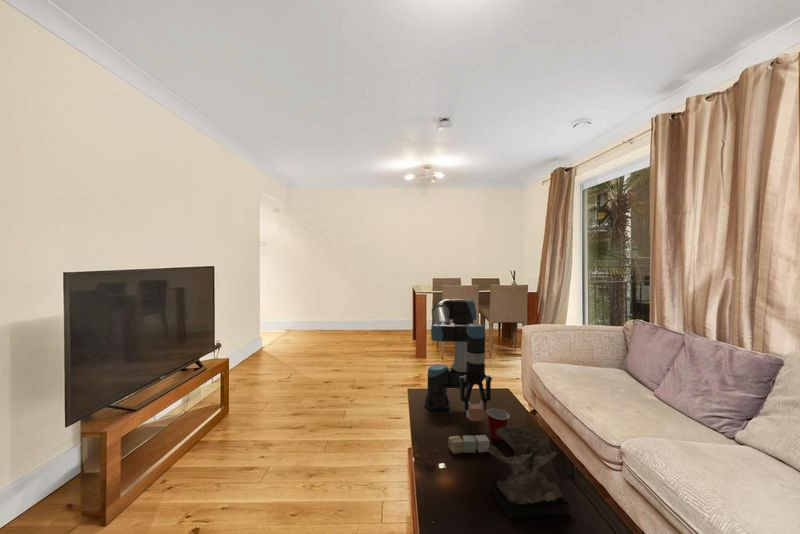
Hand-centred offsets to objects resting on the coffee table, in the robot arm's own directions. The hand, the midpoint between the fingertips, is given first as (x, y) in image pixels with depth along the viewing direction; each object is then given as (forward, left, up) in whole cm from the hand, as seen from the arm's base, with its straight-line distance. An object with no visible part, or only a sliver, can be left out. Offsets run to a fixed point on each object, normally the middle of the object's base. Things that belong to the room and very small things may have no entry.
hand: (475, 417), depth 139 cm
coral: (+20, +11, -20) cm, 30 cm away
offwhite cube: (-11, +7, -20) cm, 24 cm away
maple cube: (-11, -5, -20) cm, 23 cm away
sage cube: (-11, +1, -20) cm, 23 cm away
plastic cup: (-20, +18, -20) cm, 33 cm away
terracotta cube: (0, 0, 0) cm, 0 cm away
